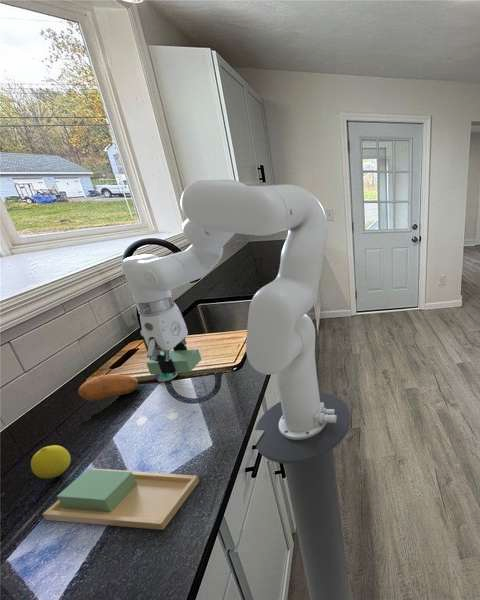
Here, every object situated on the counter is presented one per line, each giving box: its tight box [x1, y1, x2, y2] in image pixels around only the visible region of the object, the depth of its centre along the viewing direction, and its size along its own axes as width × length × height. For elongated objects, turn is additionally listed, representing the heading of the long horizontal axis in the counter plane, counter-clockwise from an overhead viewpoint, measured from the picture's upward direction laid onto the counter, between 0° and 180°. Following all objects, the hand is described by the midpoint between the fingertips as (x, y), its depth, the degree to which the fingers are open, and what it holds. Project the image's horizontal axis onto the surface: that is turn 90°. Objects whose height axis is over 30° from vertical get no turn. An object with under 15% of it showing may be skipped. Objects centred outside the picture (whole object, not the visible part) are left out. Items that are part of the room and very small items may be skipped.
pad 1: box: [56, 468, 137, 512], centre depth 63 cm, size 10×6×4 cm, turn 85°
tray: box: [42, 468, 200, 531], centre depth 63 cm, size 24×10×2 cm, turn 85°
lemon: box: [30, 444, 72, 479], centre depth 67 cm, size 6×6×8 cm
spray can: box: [140, 329, 178, 383], centre depth 99 cm, size 6×6×20 cm
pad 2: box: [146, 348, 202, 376], centre depth 85 cm, size 10×6×4 cm, turn 95°
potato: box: [77, 373, 139, 403], centre depth 93 cm, size 7×13×7 cm, turn 117°
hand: (176, 365), depth 85 cm, fingers closed on pad 2, 6 cm apart
